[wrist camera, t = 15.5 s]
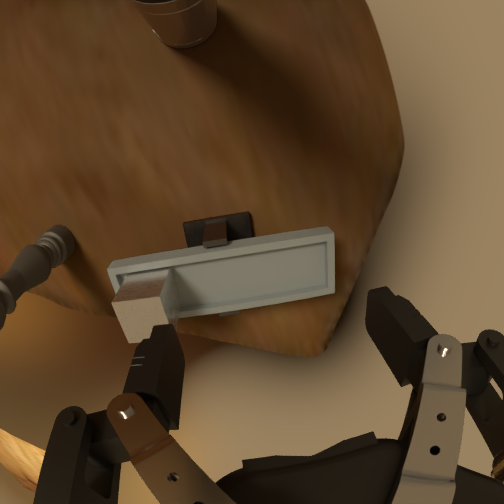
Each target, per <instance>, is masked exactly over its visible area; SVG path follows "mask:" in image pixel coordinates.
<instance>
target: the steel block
mask: <svg viewBox="0 0 504 504" xmlns="http://www.w3.org/2000/svg"><path fill="white" fill-rule="evenodd" d="M111 303H112V306H113V308H114V311H115V313H116V315H117V318H118V320H119V322H120V324H121V327H122V329H123V331H124V333H125V336H126V338H127V340H128V342H129V343H138V342H141V341H142V340H143V339H147V338H150V335H151V332H152V328H153V326H154V325H163V324H173V326H174V328H175V331H176V329H177V324H178V319H179V314H180V309H181V304H182V301H181V298H180V294H179V291H178V287H177V284H176V280H175V277H174V273H173V270H172V266H169V267H162V268H156V269H150V270H143V271H137V272H131V273H128V274H127V276H126V278H125V279H124V281H123V283H122V285H121V286H120V288H119V290H118V292H117V293H116V295H115V297H114V299H113V300H112V302H111Z"/></svg>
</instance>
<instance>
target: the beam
mask: <svg viewBox="0 0 504 504" xmlns="http://www.w3.org/2000/svg"><path fill="white" fill-rule="evenodd" d="M169 266H172V270H173V273H174V277H175V280H176V284H177V287H178V291H179V294H180V298H181V301H182V304H181V309H180V314H179V318H184V317H192V316H200V315H207V314H214V313H221V312H228V311H235V310H241V309H248V308H254V307H260V306H266V305H272V304H278V303H284V302H289V301H295V300H300V299H306V298H311V297H316V296H322V295H327V294H332V293H335V245H334V232H333V231H332V230H331V229H330V228H329V227H328V226H325V227H318V228H311V229H305V230H298V231H291V232H285V233H278V234H272V235H266V236H259V237H253V238H246V239H240V240H234V241H228V242H227V244H226V245H219V246H213V247H207V248H204V247H203V246H197V247H191V248H185V249H179V250H173V251H167V252H161V253H155V254H149V255H143V256H137V257H132V258H126V259H120V260H114V261H113V262H112V263H111V264H110V266H109V267H108V268H107V271H108V274H109V277H110V280H111V283H112V285H113V288H114V291H115V293H117V292H118V290H119V288H120V286H121V285H122V283H123V281H124V279H125V278H126V276H127V274H128V273H131V272H137V271H143V270H150V269H156V268H162V267H169Z"/></svg>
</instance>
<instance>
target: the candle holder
mask: <svg viewBox="0 0 504 504" xmlns="http://www.w3.org/2000/svg"><path fill="white" fill-rule="evenodd" d="M74 249H75V240H74V237H73V235H72V233H71V231H70V230H68V229H67V228H66V227H65V226H62V225H55V226H53V227H52V228H50V229H49V230H48V231H46V232H45V233H43V234H42V235H41V237H40V238H39V239H38V240H37V242H36V244H34V245H27V246H26V247H25V248H24V249H22V250H21V252H20V253H19V255H18V256H17V258H16V259H15V261H14V262H13V264H12V265H11V267H10V269H9V270H8V271H7V272H6V273H5V274H4V275H3V276H2V277H1V278H0V330H1V329H2V328H3V326H4V323H5V319H6V314H11V313H12V312H14V310H15V307H16V301H17V300H18V299H19V297H20V296H21V295H22V294H23V293H24V292H26V291H28V290H30V289H31V288H33V287H35V286H37V285H39V284H41V283H43V282H44V281H46V280H47V279H48V277H49V275H50V273H51V268H55V267H57V266H59V265H61V264H62V263H64V262H65V261H66V260H67V259H68V258H69V257H70V256H71V255H72V253H73V252H74Z"/></svg>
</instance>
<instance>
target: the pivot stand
mask: <svg viewBox="0 0 504 504" xmlns="http://www.w3.org/2000/svg"><path fill="white" fill-rule="evenodd" d="M183 228H184V232H185V237H186V241H187V246H188V248H191V247H197V246H203V247H204V248H207V247H213V246H219V245H226V244H227V242H228V241H234V240H240V239H246V238H252V232H251V225H250V218H249V212H242V213H235V214H229V215H223V216H217V217H211V218H205V219H199V220H194V221H188V222H184V223H183ZM235 314H240V310H235V311H228V312H221V313H219V317H221V316H228V315H235Z"/></svg>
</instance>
